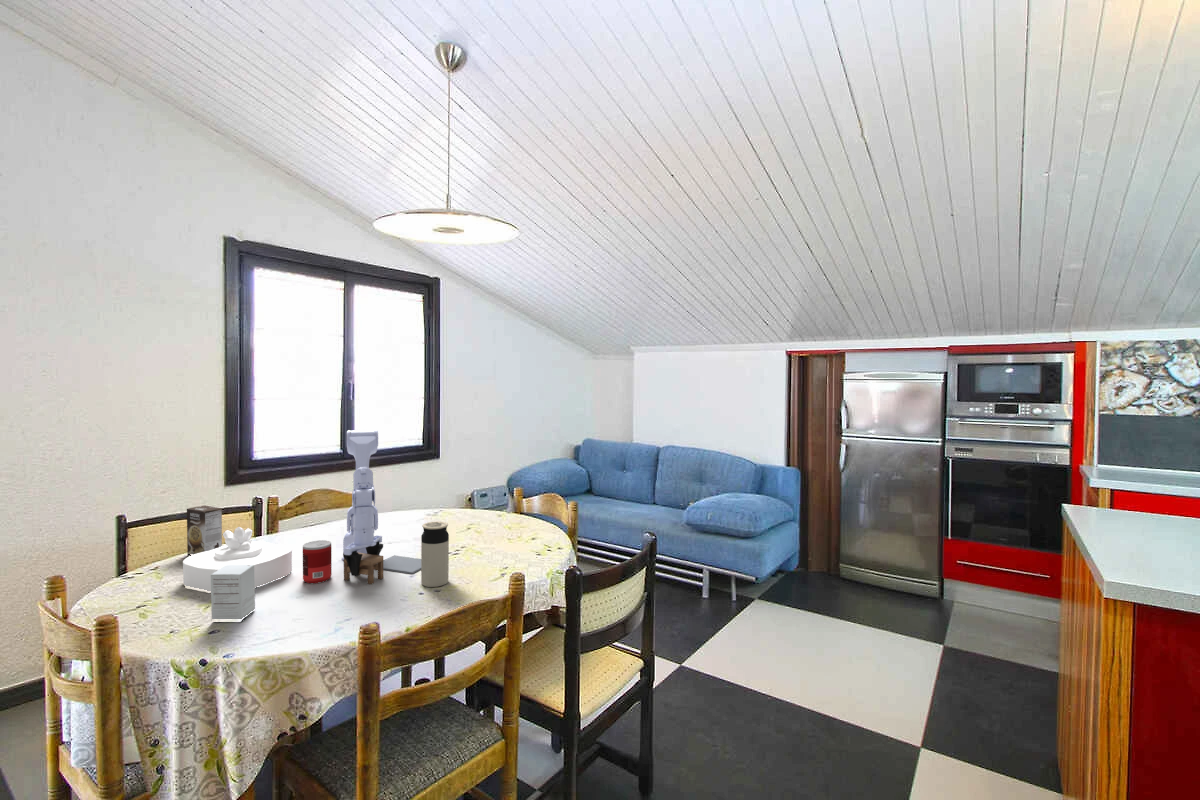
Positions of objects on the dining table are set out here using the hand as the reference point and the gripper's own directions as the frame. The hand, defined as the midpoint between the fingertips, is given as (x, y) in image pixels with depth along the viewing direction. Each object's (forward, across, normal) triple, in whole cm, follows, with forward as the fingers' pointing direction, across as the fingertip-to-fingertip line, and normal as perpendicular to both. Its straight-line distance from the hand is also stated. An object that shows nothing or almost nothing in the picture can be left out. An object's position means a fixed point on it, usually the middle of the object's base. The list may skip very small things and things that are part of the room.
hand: (363, 571), depth 179 cm
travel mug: (+3, +5, -22) cm, 23 cm away
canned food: (+3, -5, +13) cm, 14 cm away
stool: (+2, 0, 0) cm, 2 cm away
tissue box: (+3, -12, +36) cm, 38 cm away
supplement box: (+3, -34, +12) cm, 36 cm away
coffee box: (+3, 0, +66) cm, 66 cm away
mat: (+2, +15, -3) cm, 15 cm away
